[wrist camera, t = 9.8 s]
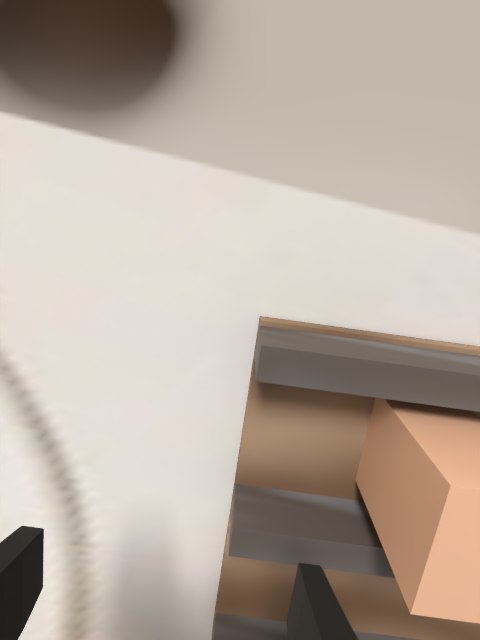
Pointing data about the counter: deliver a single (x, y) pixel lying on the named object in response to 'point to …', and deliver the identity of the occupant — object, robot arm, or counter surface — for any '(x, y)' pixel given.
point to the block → (426, 503)
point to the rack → (326, 476)
